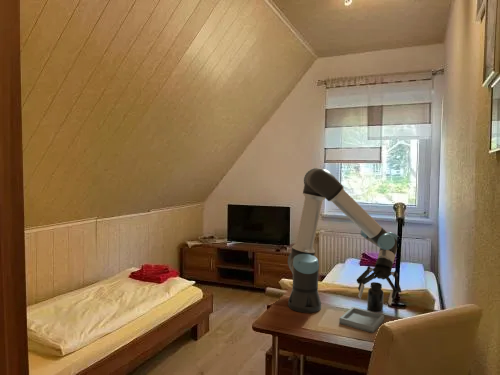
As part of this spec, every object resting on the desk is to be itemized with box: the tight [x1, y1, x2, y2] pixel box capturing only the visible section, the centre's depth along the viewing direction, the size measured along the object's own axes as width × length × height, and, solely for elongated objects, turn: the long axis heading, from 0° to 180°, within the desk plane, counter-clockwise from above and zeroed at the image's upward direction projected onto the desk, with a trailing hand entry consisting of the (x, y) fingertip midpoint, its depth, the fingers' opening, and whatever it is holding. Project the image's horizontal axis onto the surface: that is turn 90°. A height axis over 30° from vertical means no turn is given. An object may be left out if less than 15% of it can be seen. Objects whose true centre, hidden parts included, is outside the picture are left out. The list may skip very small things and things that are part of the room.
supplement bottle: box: [366, 281, 385, 313], centre depth 170 cm, size 7×7×12 cm
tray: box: [338, 306, 385, 334], centre depth 156 cm, size 14×15×2 cm
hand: (374, 300), depth 168 cm, fingers open, 13 cm apart
